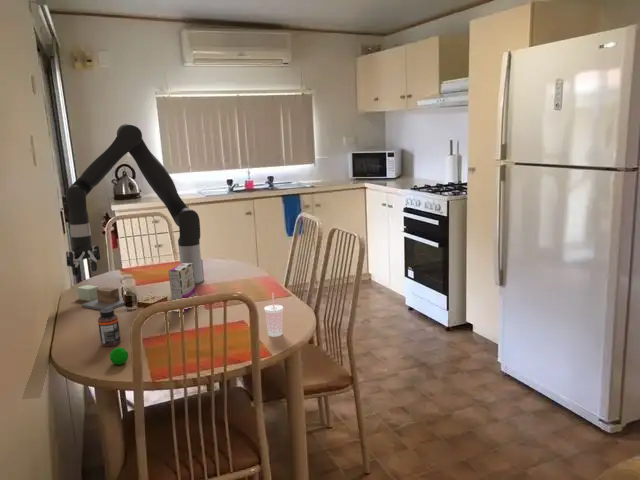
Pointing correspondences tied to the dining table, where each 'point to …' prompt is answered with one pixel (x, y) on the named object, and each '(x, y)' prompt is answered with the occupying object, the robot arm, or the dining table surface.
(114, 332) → the supplement bottle
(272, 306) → the beverage cup
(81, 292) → the sage brick
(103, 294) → the walnut brick
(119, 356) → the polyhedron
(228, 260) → the dining table surface
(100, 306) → the plate
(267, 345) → the dining table surface
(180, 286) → the candy bar box
